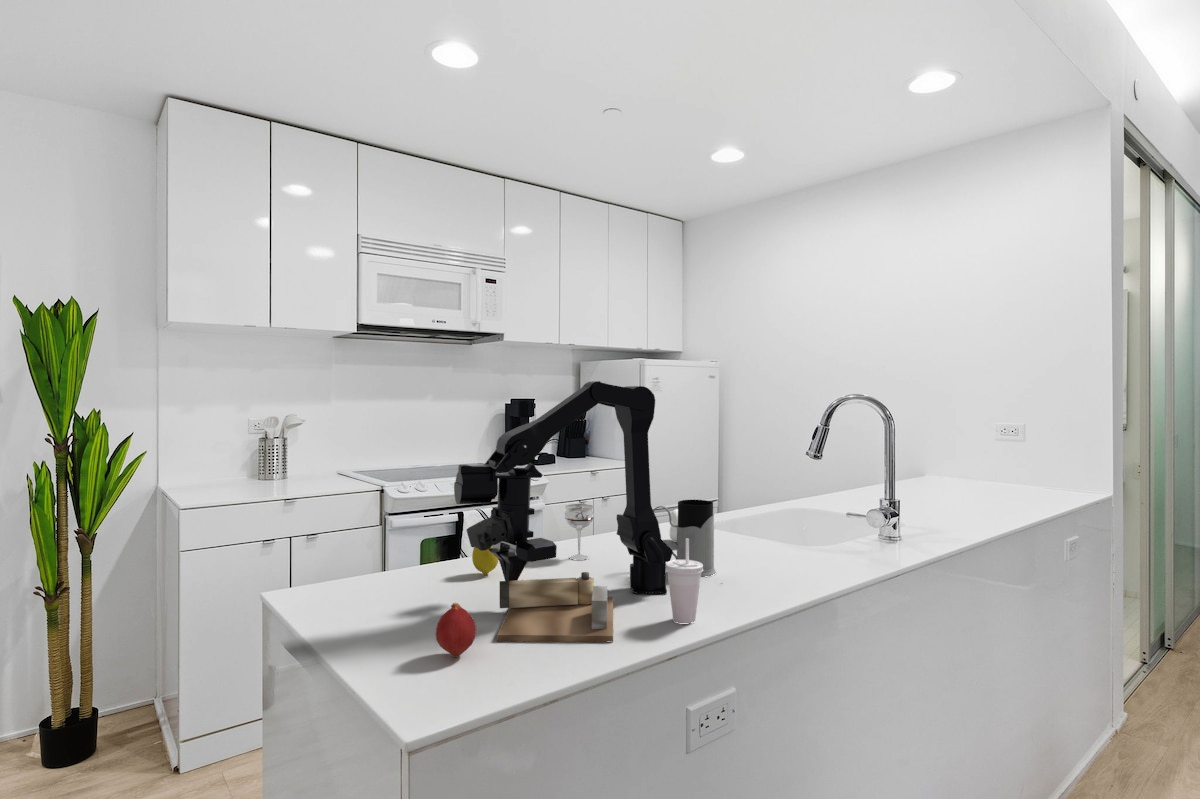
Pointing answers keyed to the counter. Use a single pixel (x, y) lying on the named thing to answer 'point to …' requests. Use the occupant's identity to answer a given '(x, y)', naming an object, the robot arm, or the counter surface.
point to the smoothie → (684, 587)
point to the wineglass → (579, 521)
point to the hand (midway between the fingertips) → (510, 589)
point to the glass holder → (695, 532)
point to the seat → (562, 621)
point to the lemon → (484, 560)
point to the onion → (456, 630)
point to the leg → (546, 592)
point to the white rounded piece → (675, 522)
